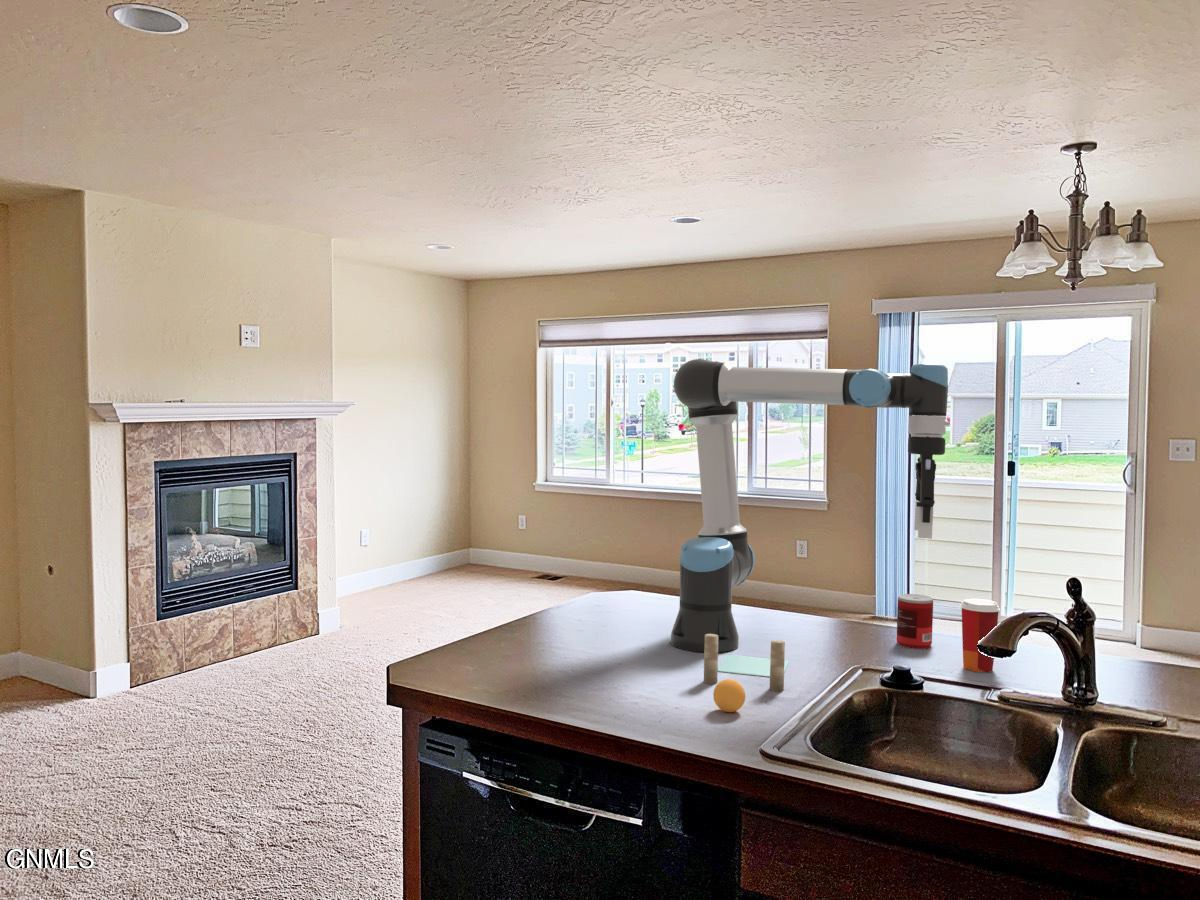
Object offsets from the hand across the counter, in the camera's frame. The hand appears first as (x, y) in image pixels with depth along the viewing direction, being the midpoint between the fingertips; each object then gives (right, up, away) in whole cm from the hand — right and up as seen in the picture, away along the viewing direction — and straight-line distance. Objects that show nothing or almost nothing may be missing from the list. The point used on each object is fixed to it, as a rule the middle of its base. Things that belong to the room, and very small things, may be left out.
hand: (922, 534), depth 191 cm
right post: (-37, -27, -25) cm, 52 cm away
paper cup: (+9, -27, -8) cm, 30 cm away
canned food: (+2, -27, +11) cm, 29 cm away
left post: (-49, -27, -21) cm, 59 cm away
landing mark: (-38, -26, -9) cm, 47 cm away
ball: (-47, -24, -38) cm, 66 cm away
